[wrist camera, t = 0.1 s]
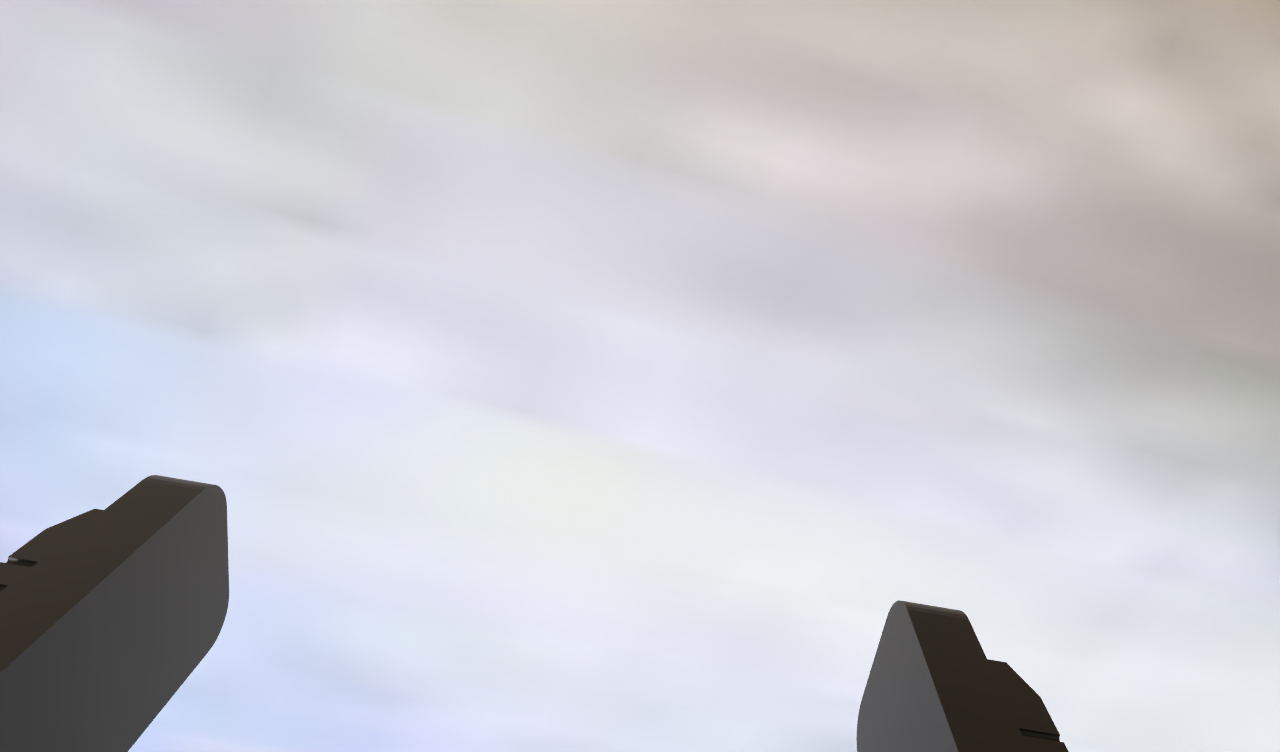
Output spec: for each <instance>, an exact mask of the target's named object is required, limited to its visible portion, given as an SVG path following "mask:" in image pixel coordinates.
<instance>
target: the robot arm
mask: <svg viewBox="0 0 1280 752" xmlns="http://www.w3.org/2000/svg"><path fill="white" fill-rule="evenodd" d="M228 601H229V574H228V536H227V504H226V497H225V494H224V492H223V490H222V489H221V488H220V487H219V486H217V485H212V484H206V483H200V482H194V481H188V480H182V479H176V478H170V477H164V476H158V475H152V476H149V477H147V478H145V479H144V480H142V481H141V482H139V483H138V484H137V485H136V486H134V487H133V488H132V489H131V490H129V491H128V492H127V493H125V494H124V495H123V496H122V497H120V498H119V499H118V500H117V501H115V502H114V503H113V504H111V505H110V506H109V507H108V508H106V509H105V510H99V509H93V510H91V511H88V512H86V513H83V514H81V515H79V516H76V517H74V518H71V519H69V520H67V521H64V522H62V523H59V524H57V525H54V526H52V527H50V528H47V529H45V530H44V531H43V532H41V533H40V534H38V535H37V536H36V537H34V538H33V539H32V540H30V541H29V542H28V543H26V544H25V545H24V546H22V547H21V548H20V549H18V550H17V551H16V552H14V553H13V554H12V555H10V556H9V558H8V561H7V563H2V562H1V563H0V752H128V750H129V749H130V748H131V747H132V745H133V744H134V743H135V742H136V741H137V739H138V738H139V737H140V736H141V734H142V733H143V732H144V731H145V729H146V728H147V727H148V726H149V724H150V723H151V722H152V721H153V719H154V718H155V717H156V716H157V715H158V713H159V712H160V711H161V710H162V708H163V707H164V706H165V705H166V703H167V702H168V701H169V700H170V698H171V697H172V696H173V695H174V694H175V692H176V691H177V690H178V689H179V687H180V686H181V685H182V684H183V682H184V681H185V680H186V679H187V677H188V676H189V675H190V674H191V672H192V671H193V670H194V669H195V668H196V666H197V665H198V664H199V663H200V661H201V660H202V659H203V658H204V656H205V655H206V654H207V653H208V651H209V650H210V649H211V647H212V646H213V644H214V643H215V641H216V639H217V637H218V635H219V633H220V631H221V628H222V626H223V623H224V620H225V616H226V612H227V608H228ZM1059 736H1060V734H1059V732H1058V730H1057V728H1056V727H1055V725H1054V723H1053V721H1052V719H1051V717H1050V715H1049V713H1048V711H1047V709H1046V707H1045V705H1044V703H1043V701H1042V699H1041V697H1040V696H1039V695H1038V694H1037V693H1036V692H1035V691H1034V690H1033V689H1032V688H1031V687H1030V686H1029V685H1028V684H1027V683H1026V682H1025V681H1024V680H1023V679H1022V678H1021V677H1020V676H1019V675H1018V674H1017V673H1016V672H1015V671H1014V670H1013V669H1012V668H1011V667H1010V666H1009V665H1008V664H1007V663H1006V662H1000V661H994V660H988V659H987V658H986V656H985V654H984V652H983V649H982V647H981V645H980V643H979V641H978V639H977V636H976V634H975V632H974V630H973V628H972V626H971V623H970V621H969V619H968V617H967V616H966V614H965V613H964V612H962V611H959V610H953V609H947V608H941V607H935V606H929V605H923V604H917V603H911V602H905V601H897V602H895V603H894V604H893V606H892V607H891V609H890V611H889V613H888V616H887V619H886V622H885V626H884V629H883V632H882V636H881V639H880V642H879V645H878V649H877V652H876V655H875V658H874V662H873V665H872V668H871V671H870V675H869V678H868V681H867V685H866V688H865V691H864V694H863V698H862V701H861V705H860V710H859V716H858V724H857V752H1068V750H1067V748H1066V746H1065V744H1064V743H1063V742H1060V741H1059Z"/></svg>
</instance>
